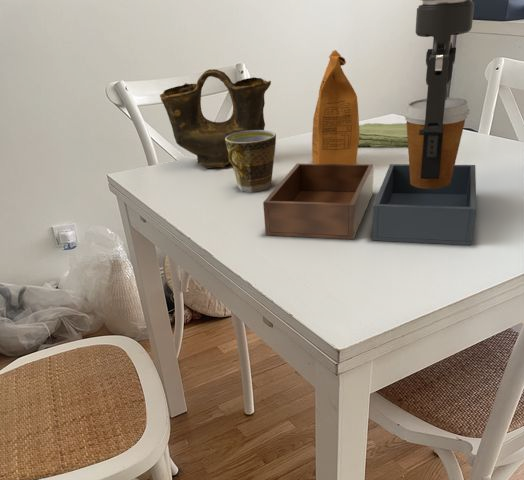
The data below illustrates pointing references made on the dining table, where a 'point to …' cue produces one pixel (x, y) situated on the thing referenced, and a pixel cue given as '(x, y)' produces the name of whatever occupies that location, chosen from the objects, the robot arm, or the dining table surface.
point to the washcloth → (383, 135)
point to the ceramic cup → (252, 158)
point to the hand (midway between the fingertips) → (431, 168)
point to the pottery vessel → (208, 132)
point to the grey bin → (425, 208)
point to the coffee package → (335, 117)
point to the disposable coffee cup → (452, 134)
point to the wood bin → (320, 201)
